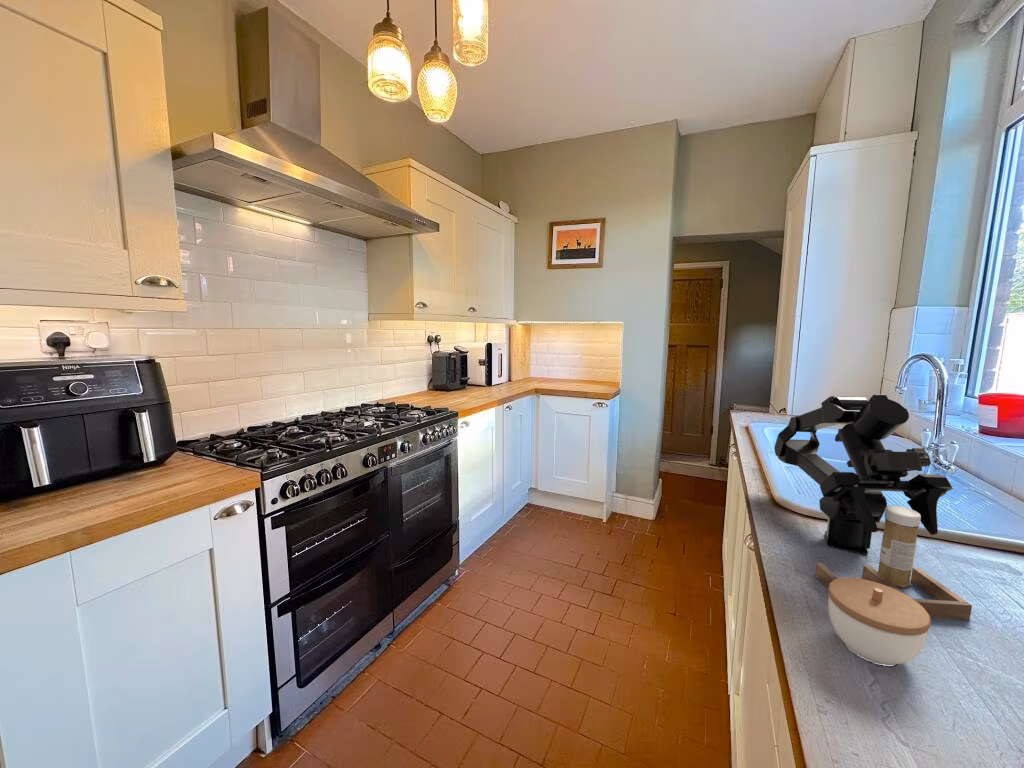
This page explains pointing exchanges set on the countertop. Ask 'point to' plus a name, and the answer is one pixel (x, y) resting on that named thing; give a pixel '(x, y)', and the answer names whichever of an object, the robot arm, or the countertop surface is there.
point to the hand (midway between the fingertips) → (904, 533)
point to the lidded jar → (877, 620)
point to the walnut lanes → (945, 598)
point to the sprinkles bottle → (898, 544)
